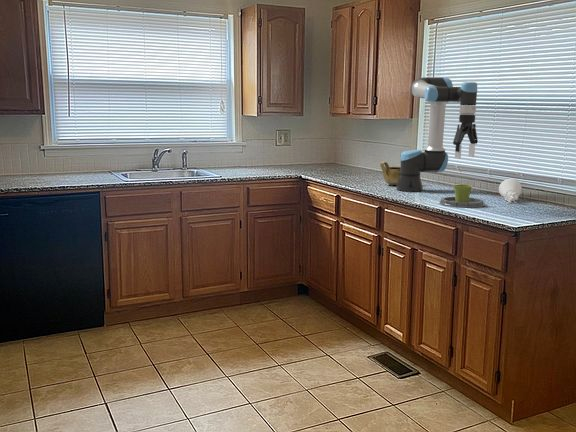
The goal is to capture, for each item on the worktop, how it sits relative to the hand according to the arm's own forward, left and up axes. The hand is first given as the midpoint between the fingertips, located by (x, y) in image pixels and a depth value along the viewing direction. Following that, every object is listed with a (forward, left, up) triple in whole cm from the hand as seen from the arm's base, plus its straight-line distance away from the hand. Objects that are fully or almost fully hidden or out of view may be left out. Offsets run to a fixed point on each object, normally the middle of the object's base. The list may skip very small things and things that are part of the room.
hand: (464, 157), depth 295 cm
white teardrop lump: (+11, +29, -24) cm, 39 cm away
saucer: (0, 0, -24) cm, 24 cm away
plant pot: (0, 0, -23) cm, 23 cm away
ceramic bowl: (-65, +36, -24) cm, 78 cm away
